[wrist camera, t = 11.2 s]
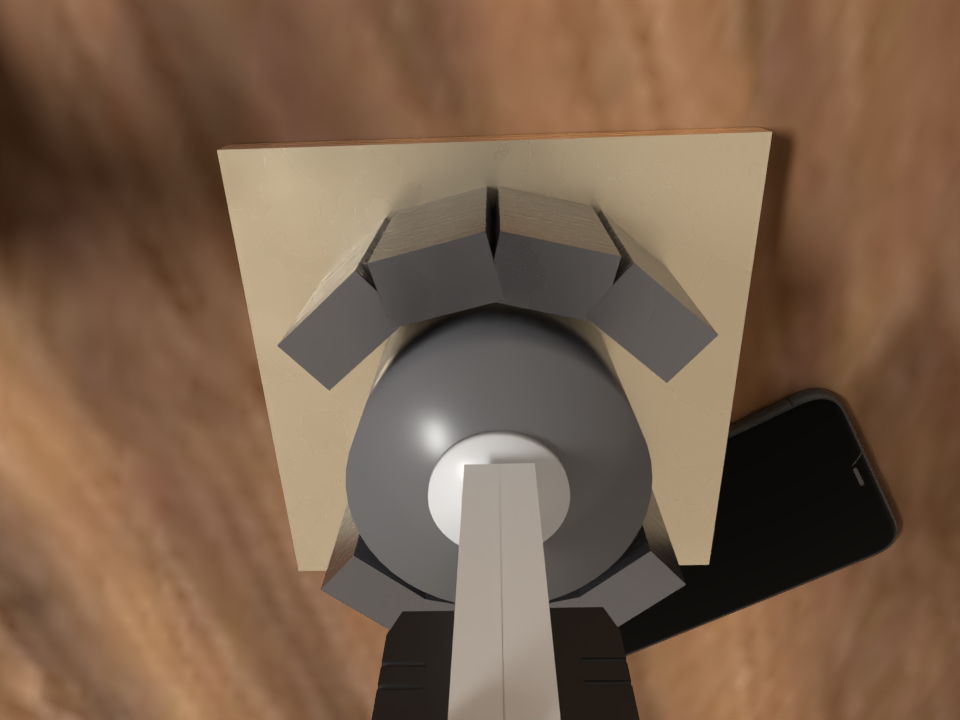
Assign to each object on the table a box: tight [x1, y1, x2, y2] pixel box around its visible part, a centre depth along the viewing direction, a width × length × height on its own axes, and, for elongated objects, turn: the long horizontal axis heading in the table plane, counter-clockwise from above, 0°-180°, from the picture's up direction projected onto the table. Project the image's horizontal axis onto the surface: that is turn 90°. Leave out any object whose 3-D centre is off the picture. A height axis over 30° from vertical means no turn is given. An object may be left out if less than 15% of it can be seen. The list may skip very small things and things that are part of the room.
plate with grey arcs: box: [217, 127, 772, 630], centre depth 19 cm, size 14×14×6 cm
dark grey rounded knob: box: [346, 302, 653, 603], centre depth 18 cm, size 7×7×5 cm
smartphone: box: [618, 388, 898, 656], centre depth 24 cm, size 7×1×15 cm
